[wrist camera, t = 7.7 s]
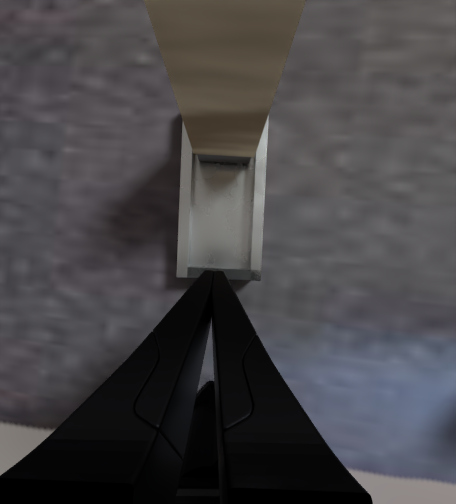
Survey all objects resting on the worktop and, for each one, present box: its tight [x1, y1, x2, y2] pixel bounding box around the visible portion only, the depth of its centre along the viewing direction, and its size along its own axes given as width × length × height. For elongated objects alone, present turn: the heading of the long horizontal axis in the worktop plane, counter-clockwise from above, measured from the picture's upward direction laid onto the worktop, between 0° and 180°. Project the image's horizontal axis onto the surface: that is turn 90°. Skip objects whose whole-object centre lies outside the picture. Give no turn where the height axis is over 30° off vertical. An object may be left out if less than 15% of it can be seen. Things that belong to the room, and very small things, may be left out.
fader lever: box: [144, 0, 306, 164], centre depth 11 cm, size 4×6×11 cm
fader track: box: [176, 114, 269, 281], centre depth 17 cm, size 18×8×2 cm, turn 177°
